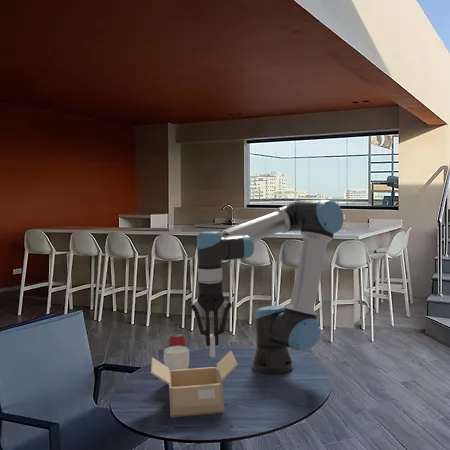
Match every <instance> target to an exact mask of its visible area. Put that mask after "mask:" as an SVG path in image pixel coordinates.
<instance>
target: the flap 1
mask: <svg viewBox="0 0 450 450" xmlns="http://www.w3.org/2000/svg"><path fill="white" fill-rule="evenodd" d="M150 363H151V365H150V374H151V375H153V376H155V377H156V378H157V379H159V380H160V381H163V382H164V383H166V384H167V385H169V384H170V377H169V368H168V367H167V366H165V364H164V363H162V362H160V361H159V360H157V359H156V358H155V357H151V362H150Z"/></svg>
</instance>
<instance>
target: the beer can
mask: <svg viewBox="0 0 450 450" xmlns="http://www.w3.org/2000/svg"><path fill="white" fill-rule="evenodd" d="M172 346H185V347H187V339H186V336H185V333H183V332H173V333H171V334H169V339H168V347H172Z"/></svg>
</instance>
